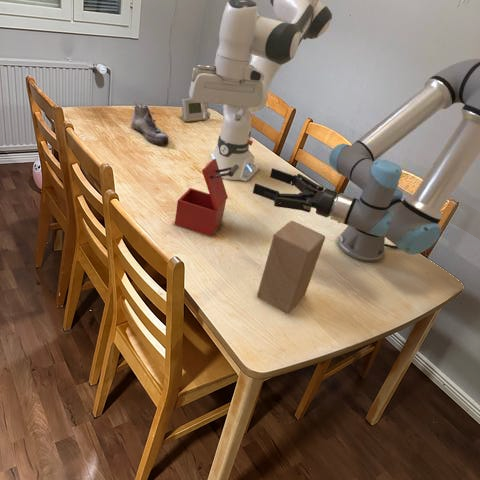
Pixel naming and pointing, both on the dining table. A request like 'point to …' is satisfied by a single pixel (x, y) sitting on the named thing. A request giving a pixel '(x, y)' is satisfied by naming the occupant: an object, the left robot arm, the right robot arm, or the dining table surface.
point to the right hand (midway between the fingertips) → (262, 180)
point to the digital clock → (191, 110)
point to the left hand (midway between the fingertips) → (222, 119)
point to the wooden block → (290, 265)
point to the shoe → (147, 125)
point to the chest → (198, 212)
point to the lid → (217, 182)
